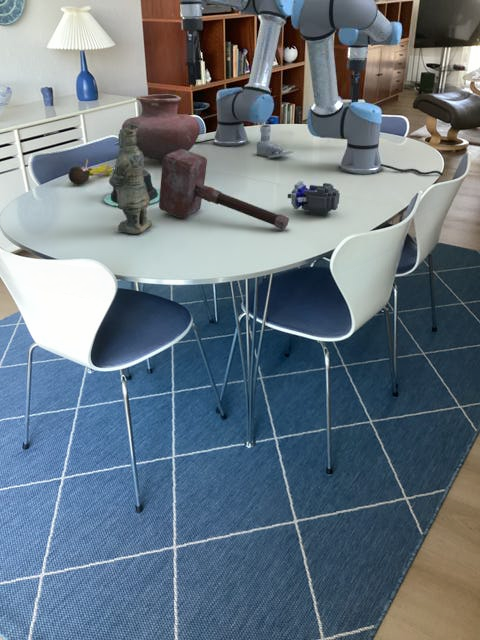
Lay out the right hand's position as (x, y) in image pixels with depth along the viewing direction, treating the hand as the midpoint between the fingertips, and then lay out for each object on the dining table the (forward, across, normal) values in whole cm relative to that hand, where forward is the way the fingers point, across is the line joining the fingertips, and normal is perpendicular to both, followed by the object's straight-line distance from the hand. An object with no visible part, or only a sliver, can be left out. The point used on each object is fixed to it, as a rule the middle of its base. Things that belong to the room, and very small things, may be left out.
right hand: (352, 119), depth 233 cm
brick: (+2, 0, 0) cm, 2 cm away
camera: (+12, -15, +32) cm, 38 cm away
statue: (+12, -99, +68) cm, 121 cm away
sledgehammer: (+12, -91, +42) cm, 101 cm away
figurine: (+12, -48, +96) cm, 108 cm away
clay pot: (+12, -23, +77) cm, 81 cm away
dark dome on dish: (+12, -70, +76) cm, 104 cm away
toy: (+12, -82, +16) cm, 85 cm away
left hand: (-18, -25, +61) cm, 69 cm away
